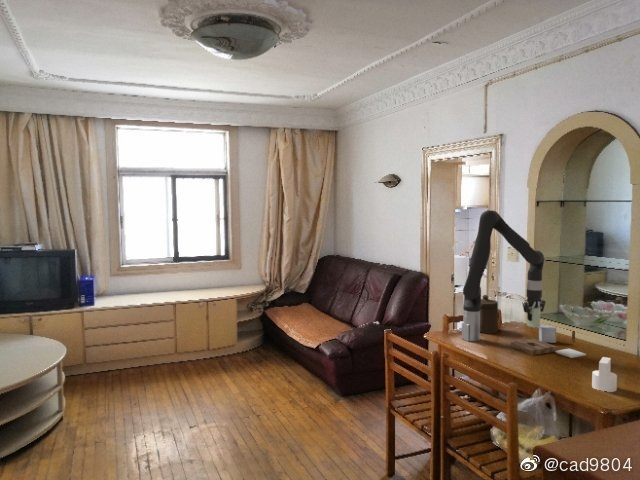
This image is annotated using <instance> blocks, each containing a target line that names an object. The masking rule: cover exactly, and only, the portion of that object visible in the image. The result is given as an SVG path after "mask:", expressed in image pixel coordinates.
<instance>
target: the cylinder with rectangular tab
mask: <svg viewBox="0 0 640 480" xmlns="http://www.w3.org/2000/svg"><path fill="white" fill-rule="evenodd" d="M611 360H612V359H611V357H606V356H602V357H601V359H600V360H599V362H598V370H597V369H596V370H594V371H593V370H592V373H591V375H592V376H591V387H592V388H593V389H594V390H596V389H597V391H599V390H601V391H600V392H604V391H607V392H606V393H615V392H617V390H618V389H617V387H618V385H617V384H618V375H617V374H616V373H615V372H612V371H611V364H612V363H611V362H612V361H611ZM614 391H615V392H614Z"/></svg>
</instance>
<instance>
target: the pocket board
mask: <svg viewBox="0 0 640 480" xmlns="http://www.w3.org/2000/svg"><path fill="white" fill-rule="evenodd" d="M509 344H510V347H511V348H513V349H516V350H519V351H521V352H524V353H526V354H529V355H532V356H535V355H536V356H537V355H541V354H542V355H543V354H548V353H549V354H550V353H556V352H555V351H557V350H558V349H557V347H558V346H555V345H553V344H550V343H545V342H542V341H539V339H536V338H528V339H523V340H515V341H510V343H509Z"/></svg>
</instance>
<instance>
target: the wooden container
mask: <svg viewBox="0 0 640 480" xmlns="http://www.w3.org/2000/svg"><path fill="white" fill-rule="evenodd" d="M498 311H499V301H497V300H493V299H489V296H488V295H487V294H484V295H482V298H481V306H480V332H482V333H481V334H495V333H498V331H499V329H498V328H499V314H498V313H499V312H498Z"/></svg>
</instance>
